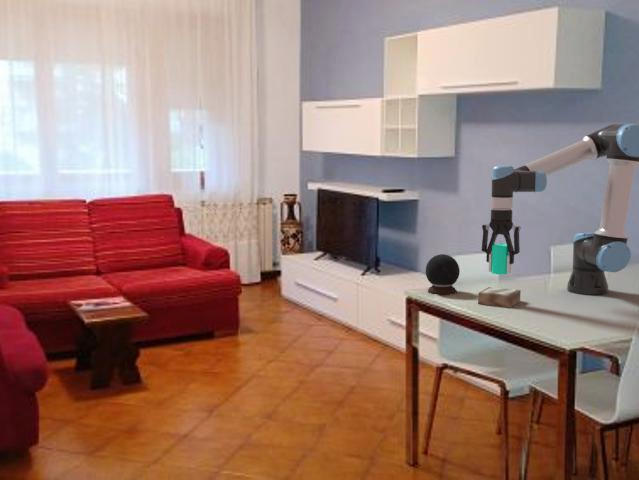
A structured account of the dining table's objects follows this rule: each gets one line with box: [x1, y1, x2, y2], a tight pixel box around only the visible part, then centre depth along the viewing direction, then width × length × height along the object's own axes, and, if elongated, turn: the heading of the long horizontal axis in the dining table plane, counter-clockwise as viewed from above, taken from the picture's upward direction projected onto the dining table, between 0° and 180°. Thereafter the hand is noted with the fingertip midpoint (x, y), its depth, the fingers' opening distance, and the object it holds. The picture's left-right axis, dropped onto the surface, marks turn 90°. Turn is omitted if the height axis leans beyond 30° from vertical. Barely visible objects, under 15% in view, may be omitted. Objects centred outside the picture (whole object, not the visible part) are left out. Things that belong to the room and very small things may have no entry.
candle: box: [490, 240, 509, 275], centre depth 261 cm, size 6×6×12 cm
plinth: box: [477, 287, 521, 309], centre depth 263 cm, size 12×12×4 cm
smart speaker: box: [425, 253, 460, 296], centre depth 281 cm, size 13×13×15 cm
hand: (499, 271), depth 262 cm, fingers closed on candle, 6 cm apart
